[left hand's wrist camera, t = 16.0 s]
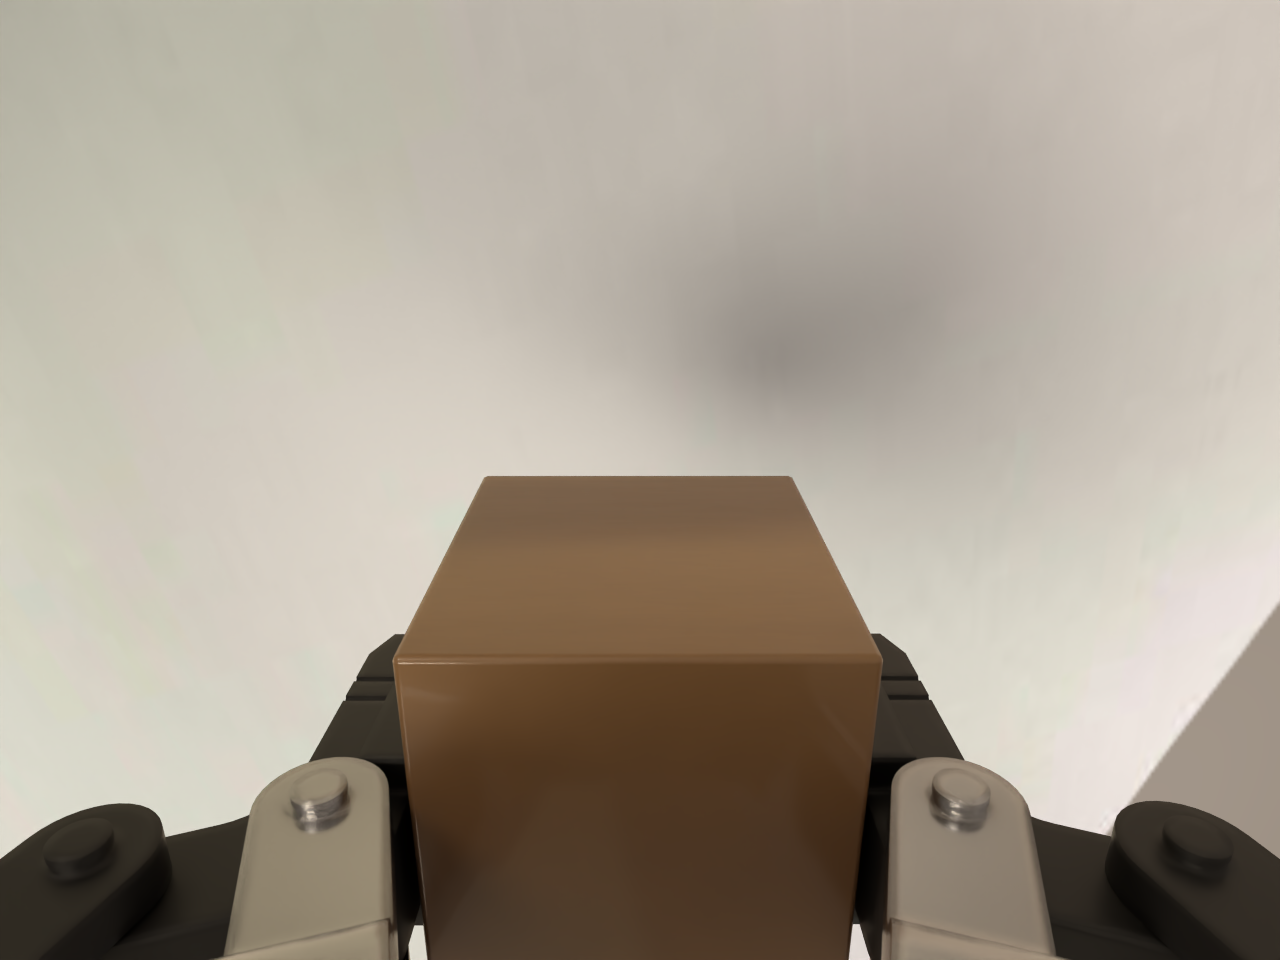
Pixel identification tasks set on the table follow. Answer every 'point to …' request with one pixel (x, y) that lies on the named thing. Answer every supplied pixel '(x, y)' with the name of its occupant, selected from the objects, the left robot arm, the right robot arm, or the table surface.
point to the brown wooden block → (637, 725)
